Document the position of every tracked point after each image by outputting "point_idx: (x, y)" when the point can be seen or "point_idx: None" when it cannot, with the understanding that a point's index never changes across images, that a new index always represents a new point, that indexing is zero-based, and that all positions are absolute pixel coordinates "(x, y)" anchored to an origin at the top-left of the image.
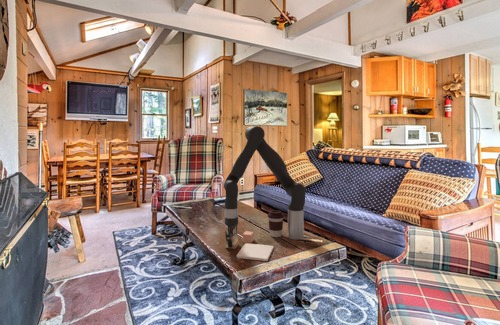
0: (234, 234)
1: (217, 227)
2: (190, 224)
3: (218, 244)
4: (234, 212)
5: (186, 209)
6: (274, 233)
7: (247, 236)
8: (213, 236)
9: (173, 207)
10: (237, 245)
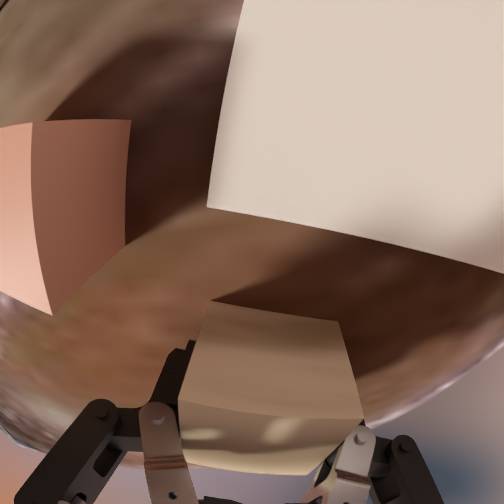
0: (182, 453)
1: (17, 394)
2: None
3: None
4: None
5: (2, 425)
6: None
7: (60, 206)
8: None
9: (16, 441)
10: (236, 306)
